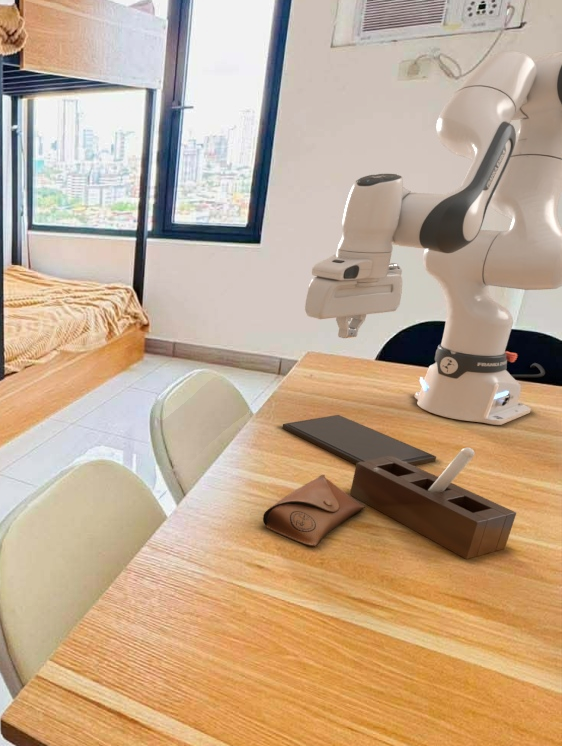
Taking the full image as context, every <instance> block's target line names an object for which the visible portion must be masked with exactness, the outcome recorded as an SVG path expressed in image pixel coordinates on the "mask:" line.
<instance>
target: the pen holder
mask: <svg viewBox="0 0 562 746" xmlns="http://www.w3.org/2000/svg"><path fill="white" fill-rule="evenodd" d="M438 477H439V476H438V475H435V474H433V473H431V472H429V471H427V470H424V469H422V468H419V467H417V466H416V465H414V466H413V465H411V464H409V463H406V462H404V461H402V460H400V459H398V458H395V457H393V456H390V457H384V458H379V459H374V460H369V461H364V462H359V463H357V464H356V465H355V468H354V473H353V479H352V481H351V482H352V483H351V486H350V492H349V496H350V497H352V498H354V499H356V500H358V501H360V502H361V503H364V504H366V505H368V506H369V507H371V508H373V509H375V510H376V511H378V512H380V513H382V514H384V515H385V516H387V517H389V518H391V519H393V520H394V521H397V522H399V523H400V524H402V525H404V526H405V527H407V528H409V529H411V530H412V531H414V532H416V533H418V534H420V535H422V536H423V537H425V538H427V539H429V540H431V541H432V542H434V543H436V544H438V545H439V546H442V547H443V548H445V549H446V550H449V551H450V552H452V553H454V554H456V555H457V556H460V557H462V558H463V559H465V560H468V559H472V558H475V557H479V556H482V555H483V556H484V555H486V554H489V553H494V552H497V551H501V550H504V549H506V547H507V544H508V540H509V537H510V534H511V531H512V528H513V525H514V522H515V519H516V516H517V511H514V510H512V509H510V508H508V507H505V506H503V505H501V504H499V503H496V502H495V501H492V500H491V499H488V498H485V497H483V496H481V495H479V494H478V493H474V492H472V491H471V490H469V489H466V488H463V487H462V486H459V485H457V484H455V483H453V482H451V483H450V484H449V485H448V487H447V488H446V489H445V490H444V491H443V492H439V493H435V494H433V493H431V492H429V491H428V489H429V488H430V487H431V486H432V485H433V483H434V482H435V481H436V480H437V479H438Z"/></svg>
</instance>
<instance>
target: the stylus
mask: <svg viewBox="0 0 562 746" xmlns="http://www.w3.org/2000/svg"><path fill="white" fill-rule="evenodd" d="M475 453H476V452H475V450H474V449H473V448H471V447H464V448H462V449H461V450H460V451H459V452H458V454H457V455H456V456H455V457H454V458H453V460H451V462H450V463H449V464H448V465H447V467H446V468H445V469H444V470H443V471H442V473H441V474H440V475H439V476H437V477H438V479H437V480H436V481H435V482H434V483H433V485H432V486H431V487H430V488H429V489H428V491H429V492H431V493H433V494H435V493H439V492H443V491H444V490H445V489H446V488H447V487H448V485H449V484H450V483H453V481H455V479H456V478H457V476H458V475H459V474H460V473H461V472H462V471H463V469H464V468H466V466H467V465H468V464H469V463H470V461H471V460H472V459H473V458H474V457H475V455H476V454H475Z"/></svg>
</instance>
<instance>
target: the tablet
mask: <svg viewBox="0 0 562 746" xmlns="http://www.w3.org/2000/svg"><path fill="white" fill-rule="evenodd" d="M281 428H282V429H284V430H285V431H287V432H289V433H290V434H293V435H295V436H297V437H300V438H301V439H303V440H305V441H307V442H309V443H311V444H313V445H315V446H317V447H320V448H321V449H324V450H325V451H327V452H329V453H331V454H333V455H335V456H337V457H340V458H342V459H344V460H346V461H347V462H350V463H352V464H353V465H355V466H356V464H357V463H359V462H364V461H369V460H374V459H379V458H384V457H390V456H393V457H395V458H398V459H400V460H402V461H404V462H406V463H409V464H411V465H413V466H419V465H423V464H428V463H433V462H434V463H435V462H436V460H437V456H436V455H434V454H432V453H429V452H427V451H424V450H422V449H420V448H417V447H415V446H413V445H410V444H408V443H406V442H404V441H401V440H399V439H396V438H395V437H392V436H389V435H387V434H385V433H382V432H380V431H378V430H375V429H374V428H371V427H368V426H366V425H363V424H361V423H358V422H357V421H355V420H352V419H350V418H346V417H344V416H342V415H340V414H334V415H328V416H322V417H316V418H311V419H305V420H298V421H292V422H287V423H282V426H281Z"/></svg>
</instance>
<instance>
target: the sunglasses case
mask: <svg viewBox="0 0 562 746" xmlns="http://www.w3.org/2000/svg"><path fill="white" fill-rule="evenodd" d="M325 475H326V474H321V475H319V476H317V477H316V478H314V479H313V480H311V481H309V482H307V483H306V484H304V485H302V486H300V487H298V488H297V489H296V490H294V491H292V492H290V493H289V494H288V495H286V496H284V497H283V498H282V499H280V500H279V501H278V502H276V503H274V504H273V505H272V506H270V507H269V508H268V509H266V510H265V511H264V512H263V513H264V514H263V515H262V522H263V524H264V525H265V527H266V529H268V530H269V531H272V532H273V533H276V534H278V535H280V536H282V537H284V538H287V539H289V540H291V541H294V542H297V543H300V544H302V545H306V546H309V547H316V546H318V545H319V544H320V543H321V541H322V540H323V539H324V538H325V537H326V536H327V535H328V534H329V533H330V532H331V531H333V530H334V529H336V528H337V527H338V526H340V525H341V524H343V523H344V522H345V521H347V520H349V519H350V518H351V517H353V516H355V515H356V514H358V513H359V512H361V511H362V510H364V509H365V508H366V506H365V505H363V504H361V503H359V502H358V501H357V500H355V498H354V497H352V496H351V495H350V494H347V493H346V492H345V491H343V490H342V489H341V488H340V487H338V486H337V484H335V483H333V482H332V481H331V480H329V479H328V478H326V476H325Z"/></svg>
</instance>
